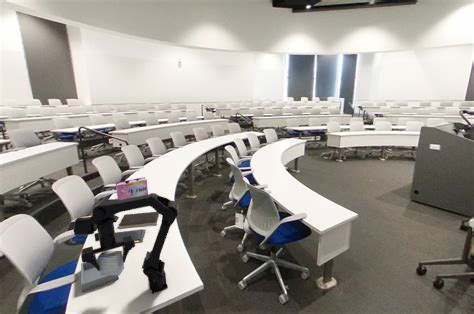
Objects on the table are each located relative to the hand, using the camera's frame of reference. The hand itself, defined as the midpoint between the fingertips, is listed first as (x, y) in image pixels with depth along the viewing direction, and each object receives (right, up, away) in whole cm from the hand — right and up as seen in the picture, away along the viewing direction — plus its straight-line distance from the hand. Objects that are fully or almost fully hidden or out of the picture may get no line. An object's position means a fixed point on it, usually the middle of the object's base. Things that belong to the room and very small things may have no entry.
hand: (111, 266), depth 100 cm
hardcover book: (-13, +2, +63) cm, 65 cm away
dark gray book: (-13, -3, +43) cm, 45 cm away
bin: (-12, -10, +13) cm, 21 cm away
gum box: (-35, +12, +102) cm, 109 cm away
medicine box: (0, -3, 0) cm, 3 cm away
